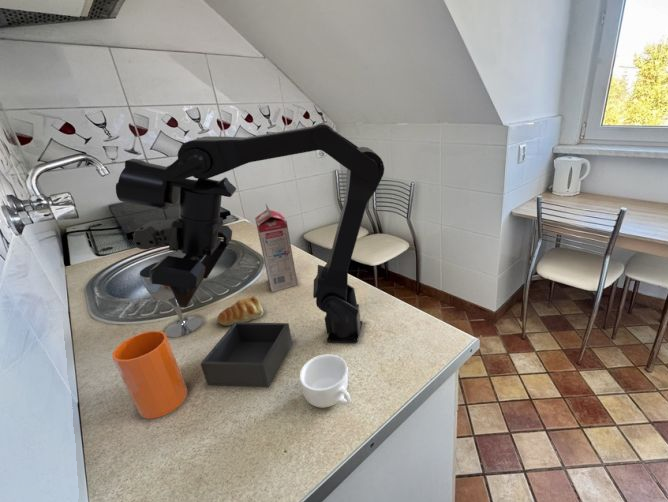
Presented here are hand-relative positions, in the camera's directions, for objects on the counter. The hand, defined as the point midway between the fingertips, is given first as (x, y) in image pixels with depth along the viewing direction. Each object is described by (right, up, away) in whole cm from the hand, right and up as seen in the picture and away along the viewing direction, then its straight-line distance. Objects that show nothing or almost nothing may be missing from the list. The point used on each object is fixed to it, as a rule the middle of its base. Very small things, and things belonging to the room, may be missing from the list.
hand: (194, 291), depth 59 cm
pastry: (+1, -9, +16) cm, 19 cm away
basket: (+9, -14, +3) cm, 17 cm away
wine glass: (-11, -10, +13) cm, 20 cm away
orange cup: (-2, -18, -5) cm, 18 cm away
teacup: (+26, -17, -5) cm, 32 cm away
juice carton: (+5, -3, +30) cm, 30 cm away
